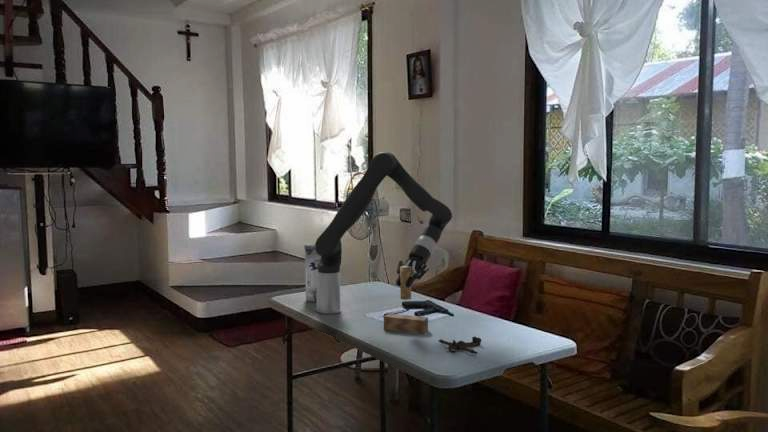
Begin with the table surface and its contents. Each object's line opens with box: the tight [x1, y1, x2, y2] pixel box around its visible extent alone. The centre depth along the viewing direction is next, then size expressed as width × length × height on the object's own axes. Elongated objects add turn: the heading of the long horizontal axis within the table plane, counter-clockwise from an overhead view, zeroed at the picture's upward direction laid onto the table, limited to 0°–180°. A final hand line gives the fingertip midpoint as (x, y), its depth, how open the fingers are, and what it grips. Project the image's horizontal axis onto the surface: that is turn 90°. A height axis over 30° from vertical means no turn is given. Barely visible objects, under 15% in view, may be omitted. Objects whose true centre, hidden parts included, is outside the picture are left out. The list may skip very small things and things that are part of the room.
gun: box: [401, 299, 455, 317], centre depth 261 cm, size 24×3×15 cm
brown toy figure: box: [438, 336, 482, 355], centre depth 210 cm, size 18×4×14 cm
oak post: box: [399, 266, 412, 301], centre depth 231 cm, size 4×4×12 cm
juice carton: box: [304, 243, 321, 303], centre depth 281 cm, size 9×10×27 cm
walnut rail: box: [383, 312, 429, 335], centre depth 232 cm, size 16×5×5 cm, turn 67°
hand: (402, 285), depth 230 cm, fingers closed on oak post, 4 cm apart
